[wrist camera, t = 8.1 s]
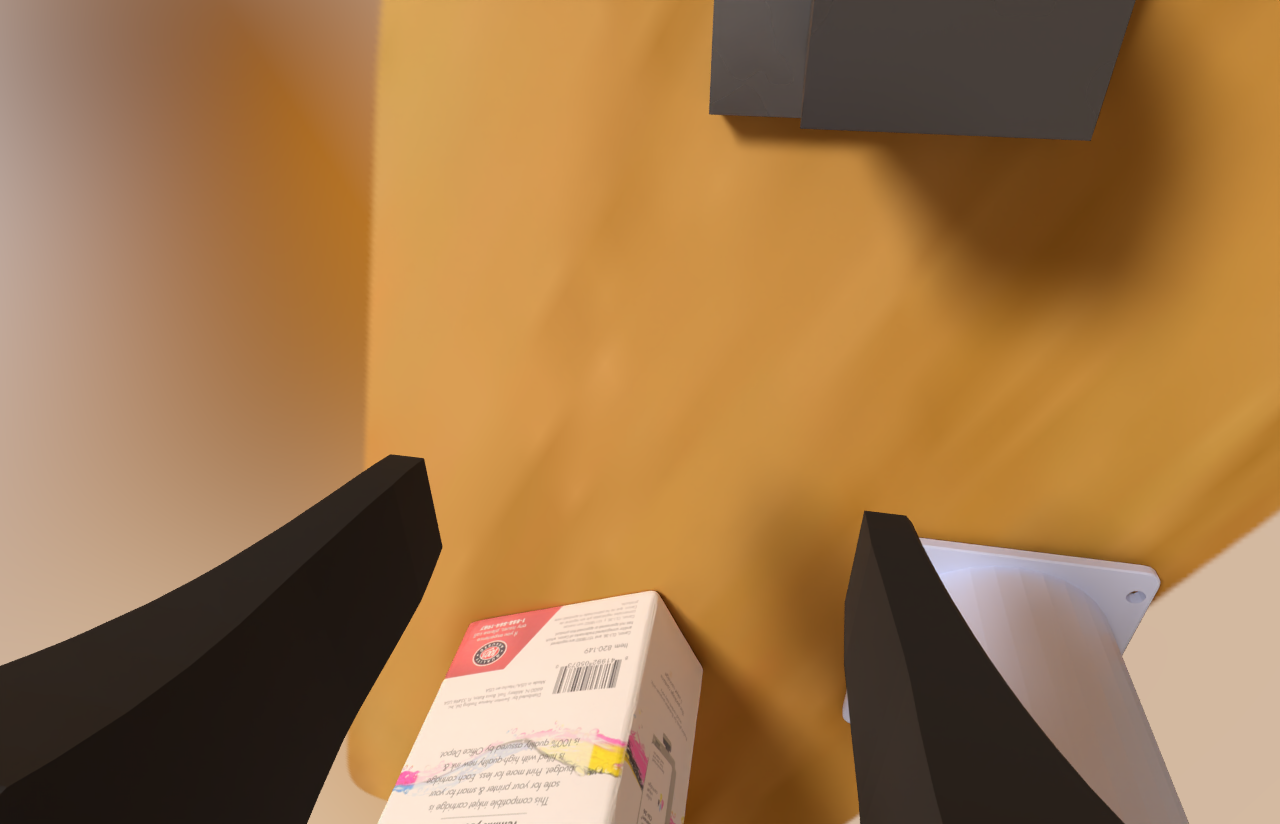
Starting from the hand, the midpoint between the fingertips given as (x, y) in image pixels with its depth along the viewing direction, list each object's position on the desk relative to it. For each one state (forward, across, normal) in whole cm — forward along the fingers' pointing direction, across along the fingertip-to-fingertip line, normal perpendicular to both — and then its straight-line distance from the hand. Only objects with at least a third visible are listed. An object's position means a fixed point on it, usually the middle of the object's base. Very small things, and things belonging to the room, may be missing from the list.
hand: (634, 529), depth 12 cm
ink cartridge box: (+10, +4, +16) cm, 19 cm away
